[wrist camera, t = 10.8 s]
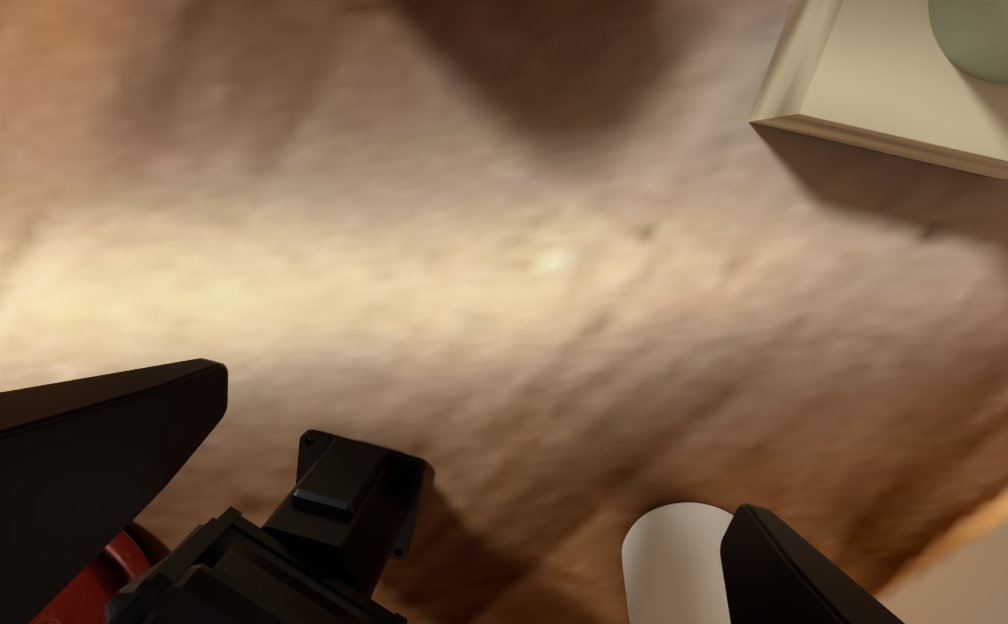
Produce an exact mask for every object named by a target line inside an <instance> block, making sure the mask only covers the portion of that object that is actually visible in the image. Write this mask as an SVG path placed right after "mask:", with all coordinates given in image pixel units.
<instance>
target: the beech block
mask: <svg viewBox="0 0 1008 624" xmlns="http://www.w3.org/2000/svg"><path fill="white" fill-rule="evenodd" d="M749 122H752V123H756V124H761V125H765V126H770V127H774V128H778V129H783V130H787V131H792V132H796V133H800V134H805V135H809V136H813V137H818V138H822V139H827V140H831V141H835V142H840V143H844V144H849V145H853V146H857V147H862V148H866V149H870V150H875V151H879V152H884V153H888V154H892V155H897V156H901V157H906V158H910V159H914V160H919V161H923V162H927V163H932V164H936V165H941V166H945V167H949V168H954V169H958V170H963V171H967V172H971V173H976V174H980V175H985V176H989V177H993V178H998V179H1008V85H1004V84H997V83H990V82H987V81H983V80H980V79H977V78H975V77H973V76H971V75H969V74H967V73H965V72H964V71H962V70H961V69H959V68H958V67H956V66H955V65H954V64H953V63H952V62H951V61H950V60H949V59H948V58H947V57H946V55H945V54H944V52H943V51H942V50H941V48H940V47H939V45H938V43H937V40H936V38H935V36H934V34H933V30H932V27H931V23H930V18H929V10H928V0H794V2H793V4H792V7H791V10H790V13H789V15H788V18H787V21H786V23H785V26H784V29H783V31H782V34H781V37H780V39H779V42H778V45H777V48H776V50H775V53H774V56H773V58H772V61H771V64H770V66H769V69H768V72H767V74H766V77H765V80H764V82H763V85H762V88H761V91H760V93H759V96H758V99H757V101H756V104H755V107H754V109H753V112H752V115H751V117H750V120H749Z"/></svg>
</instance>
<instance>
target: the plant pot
mask: <svg viewBox="0 0 1008 624" xmlns="http://www.w3.org/2000/svg"><path fill="white" fill-rule="evenodd" d="M150 568H151V566H150V564H149V562H148V560H147V558H146V557H145V555H144V554H143V552H142V551H141V549H140V548H139V547H138V545H137V544H136V543H135V542H134V540H133V539H132V538H131V537H130V536H129V535H128V534H127V533H126V532H124V531H123V530H122V531H121V532H120V533H119V534H118V535H117V536H116V537H115V538H114V539H113V540H112V541H111V542H110V543H109V544H108V545H107V546H106V547H105V548H104V549H103V550H102V551H101V552H100V553H99V554H98V555H97V556H96V557H95V558H94V559H93V560H92V561H91V562H90V563H89V564H88V565H87V566H86V567H85V568H84V569H83V570H82V571H81V572H80V573H79V574H78V575H77V576H76V577H75V578H74V579H73V580H72V581H71V582H70V583H69V584H68V585H67V586H66V587H65V588H64V589H63V590H62V591H61V592H60V593H59V594H58V595H57V596H56V597H55V598H54V599H53V600H52V601H51V602H50V603H49V604H48V605H47V606H46V607H45V608H44V609H43V610H42V611H41V612H40V613H39V614H38V615H37V616H36V617H35V618H34V619H33V620H32V621H31V622H30V623H29V624H104V610H105V606H106V604H107V603H108V602H109V601H110V599H111V598H112V597H113V596H114V595H115V594H116V593H117V592H118V591H119V590H120V589H121V588H123V587H124V586H126V585H127V584H128V583H130V582H131V581H133V580H134V579H136V578H137V577H139V576H140V575H141V574H143V573H144V572H146V571H147V570H149V569H150Z"/></svg>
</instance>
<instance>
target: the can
mask: <svg viewBox="0 0 1008 624" xmlns="http://www.w3.org/2000/svg"><path fill="white" fill-rule="evenodd" d="M732 518H733V515H732V514H730V513H728V512H726V511H724V510H722V509H720V508H717V507H714V506H710V505H706V504H702V503H695V502H679V503H672V504H667V505H664V506H661V507H658V508H655V509H653V510H651V511H649V512H648V513H646V514H645V515H643V516H642V517H641V518H640V519H639V520H637V521H636V522H635V524H634V525H633V526H632V527H631V529H630V530H629V532H628V534H627V535H626V537H625V540H624V542H623V546H622V564H623V573H624V581H625V589H626V597H627V605H628V613H629V621H630V624H731V622H730V616H729V609H728V603H727V597H726V590H725V584H724V577H723V571H722V564H721V558H720V545H721V541H722V538H723V536H724V534H725V532H726V530H727V528H728V526H729V524H730V522H731V520H732Z"/></svg>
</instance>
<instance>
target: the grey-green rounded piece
mask: <svg viewBox="0 0 1008 624" xmlns="http://www.w3.org/2000/svg"><path fill="white" fill-rule="evenodd" d="M928 10H929V18H930V23H931V27H932V30H933V34H934V36H935V38H936V40H937V43H938V45H939V47H940V48H941V50H942V51H943V52H944V54H945V55H946V57H947V58H948V59H949V60H950V61H951V62H952V63H953V64H954V65H955V66H956V67H958V68H959V69H961V70H962V71H964V72H965V73H967V74H969V75H971V76H973V77H975V78H977V79H980V80H983V81H987V82H990V83H997V84H1004V85H1008V0H928Z"/></svg>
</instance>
